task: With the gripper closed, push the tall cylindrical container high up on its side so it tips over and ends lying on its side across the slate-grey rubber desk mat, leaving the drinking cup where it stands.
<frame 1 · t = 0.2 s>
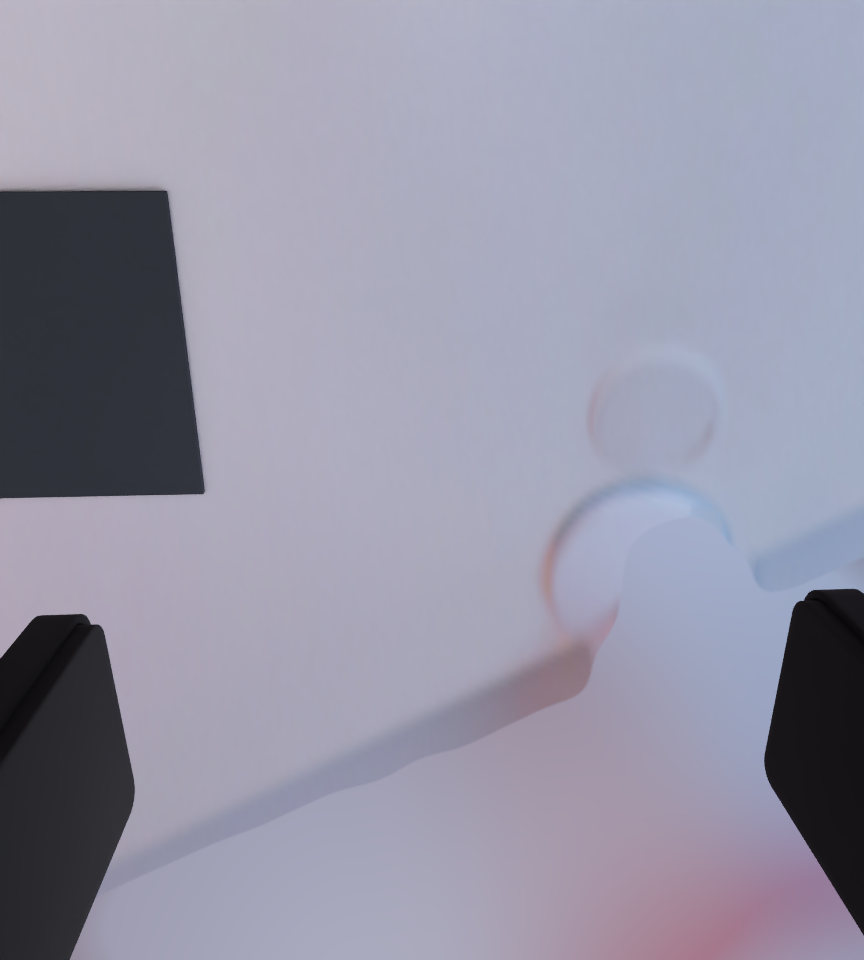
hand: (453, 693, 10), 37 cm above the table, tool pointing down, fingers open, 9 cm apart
desk mat: (16, 354, 45), on the table
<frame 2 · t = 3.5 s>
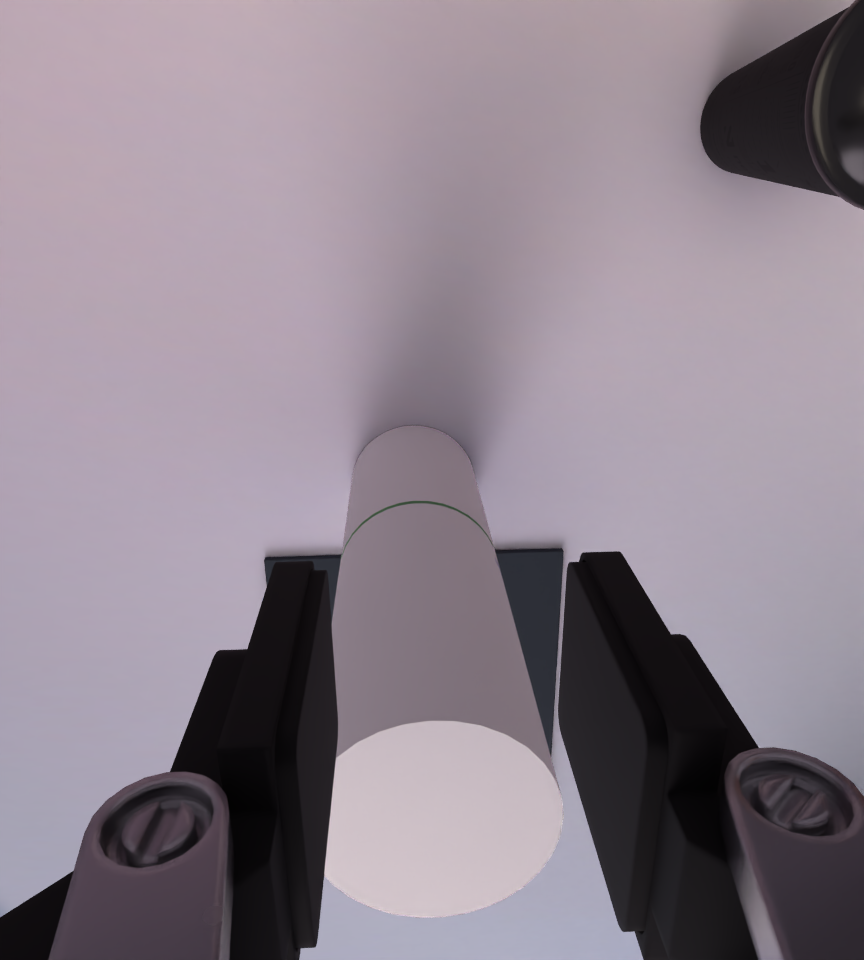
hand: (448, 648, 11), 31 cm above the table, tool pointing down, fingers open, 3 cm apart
drinking cup: (745, 121, 38), on the table
desk mat: (417, 688, 49), on the table
cylindrical container: (413, 482, 44), on the table
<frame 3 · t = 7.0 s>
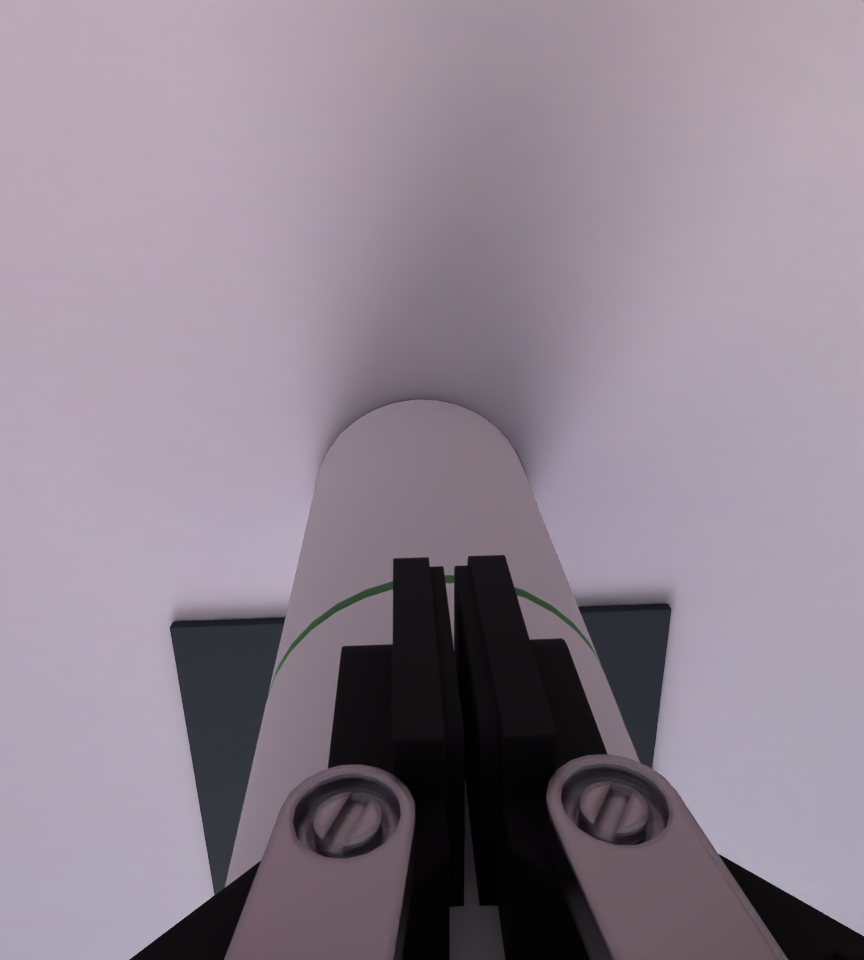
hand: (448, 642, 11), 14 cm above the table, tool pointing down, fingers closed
desk mat: (427, 821, 31), on the table
cylindrical container: (421, 497, 26), on the table, touching gripper
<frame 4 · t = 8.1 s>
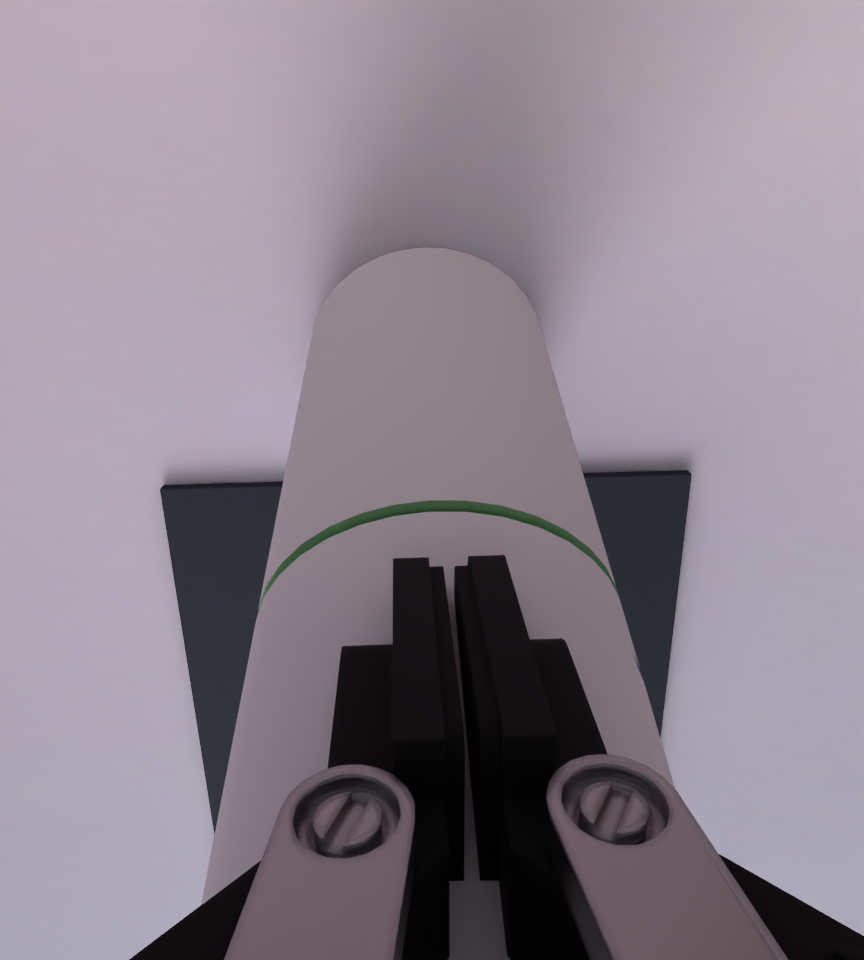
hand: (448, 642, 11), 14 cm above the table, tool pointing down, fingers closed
desk mat: (432, 715, 29), on the table
cylindrical container: (426, 356, 23), point 1 cm above the table, touching gripper
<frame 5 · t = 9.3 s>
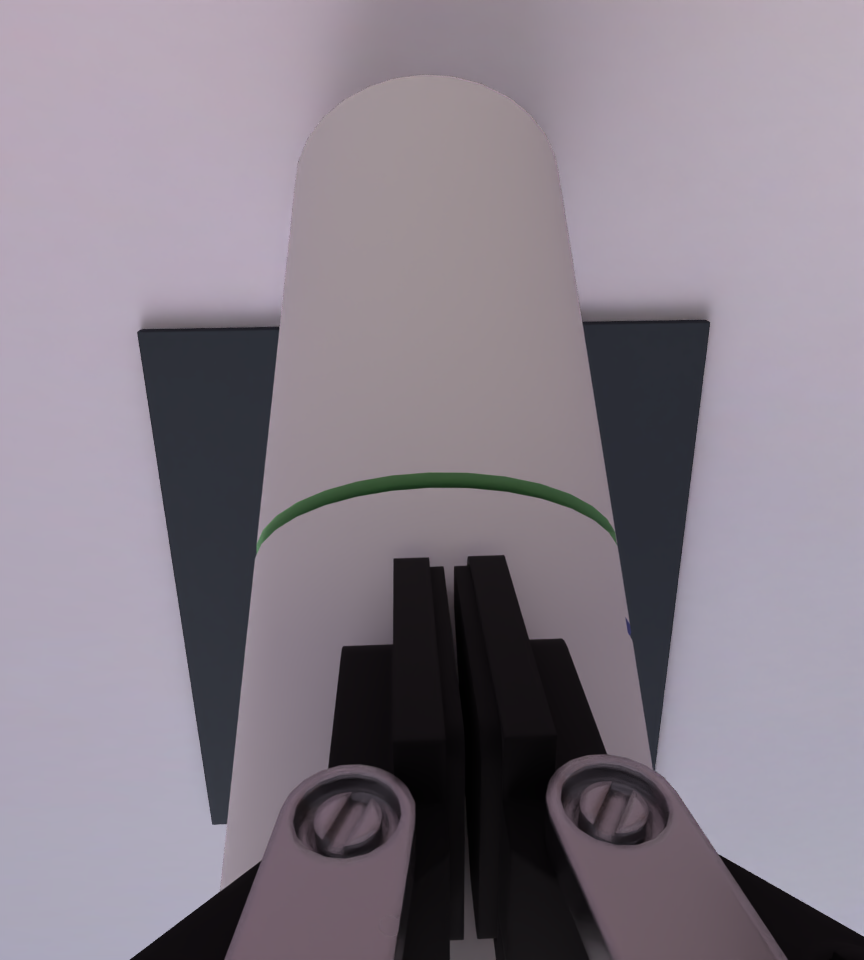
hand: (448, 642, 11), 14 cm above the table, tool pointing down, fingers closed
desk mat: (430, 598, 28), on the table
cylindrical container: (427, 195, 21), point 2 cm above the table, touching gripper
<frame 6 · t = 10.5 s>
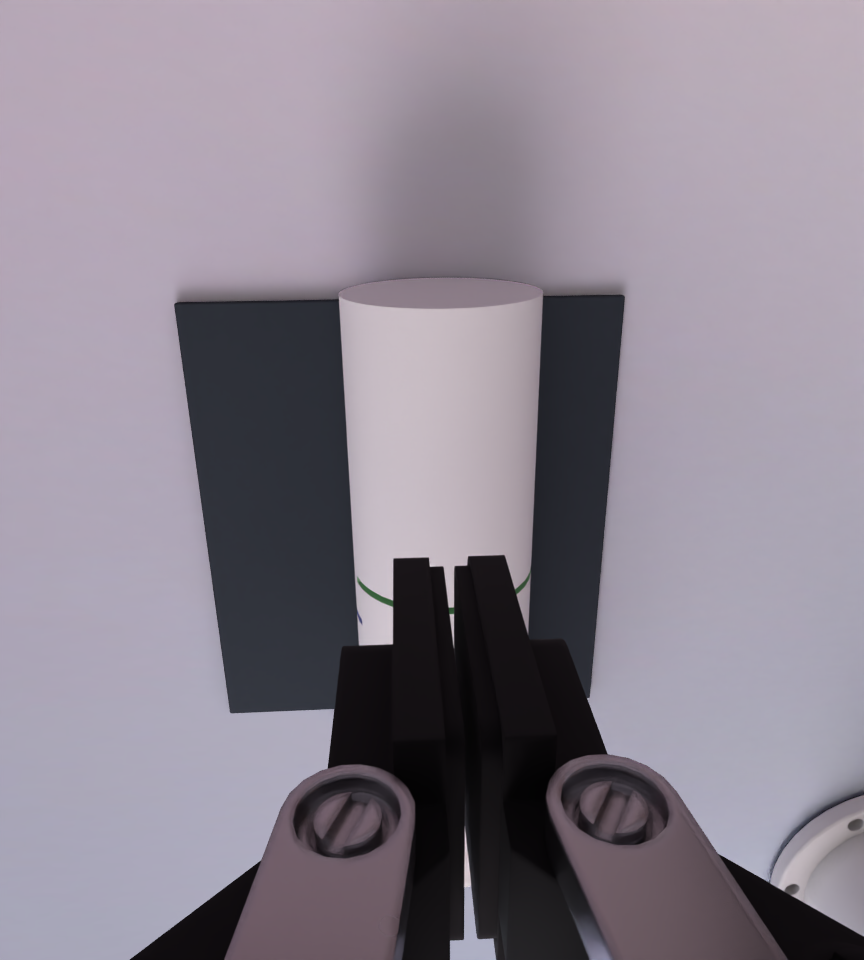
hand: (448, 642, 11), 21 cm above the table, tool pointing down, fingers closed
desk mat: (407, 521, 34), on the table
cylindrical container: (440, 285, 26), point 4 cm above the table, touching desk mat
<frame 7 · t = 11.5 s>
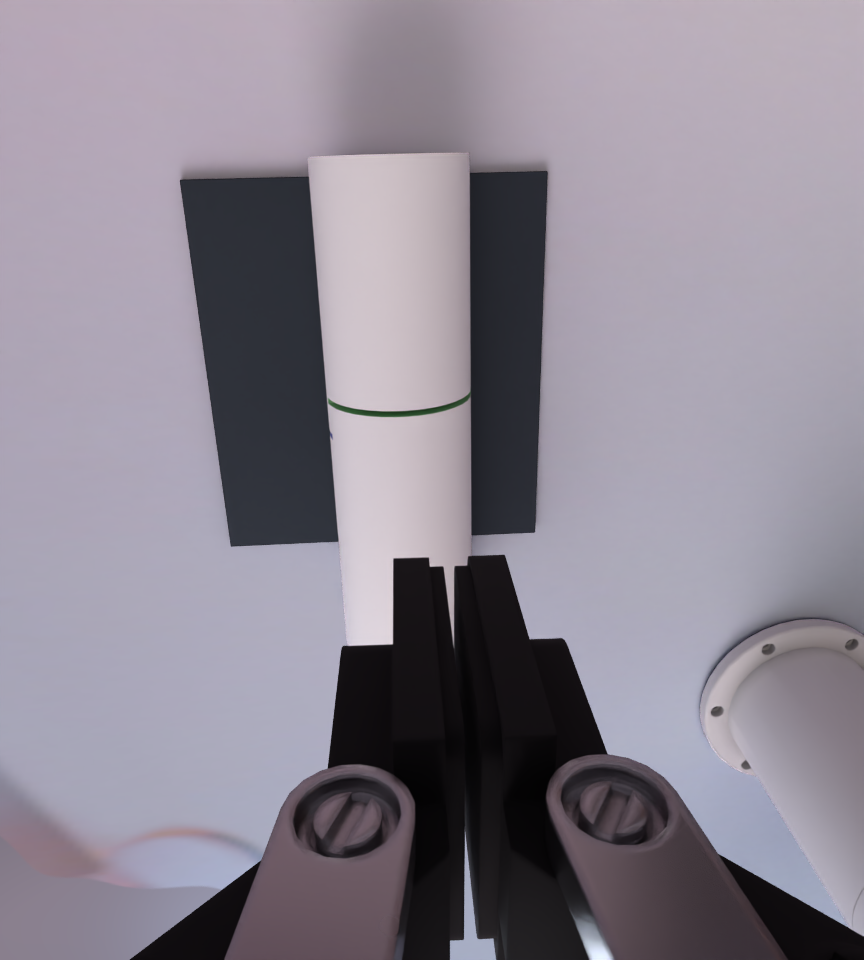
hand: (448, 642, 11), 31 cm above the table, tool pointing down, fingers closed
desk mat: (376, 372, 41), on the table
cylindrical container: (388, 150, 33), point 4 cm above the table, touching desk mat
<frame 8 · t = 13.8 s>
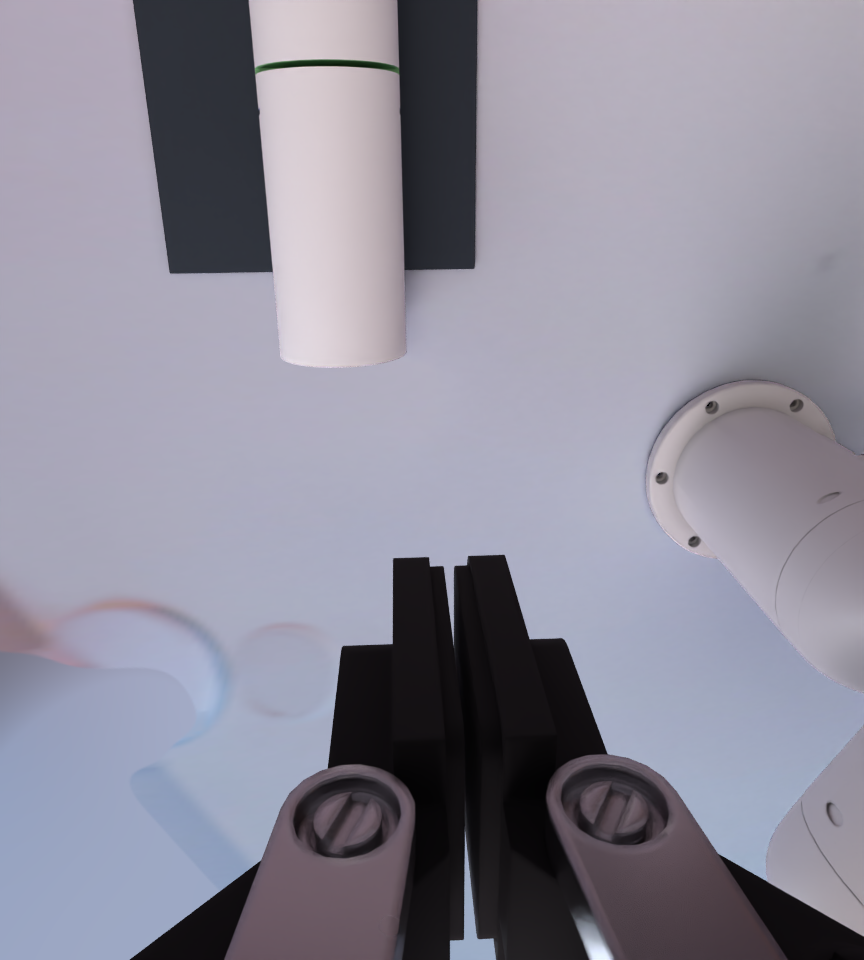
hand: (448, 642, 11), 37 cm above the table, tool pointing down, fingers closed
desk mat: (312, 82, 41), on the table
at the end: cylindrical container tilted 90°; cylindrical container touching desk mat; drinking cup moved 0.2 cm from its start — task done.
